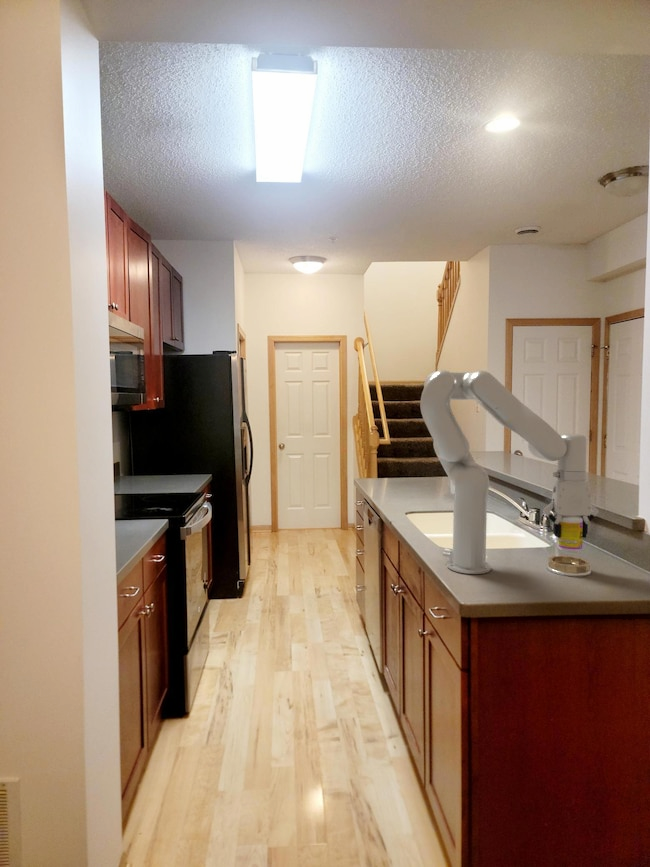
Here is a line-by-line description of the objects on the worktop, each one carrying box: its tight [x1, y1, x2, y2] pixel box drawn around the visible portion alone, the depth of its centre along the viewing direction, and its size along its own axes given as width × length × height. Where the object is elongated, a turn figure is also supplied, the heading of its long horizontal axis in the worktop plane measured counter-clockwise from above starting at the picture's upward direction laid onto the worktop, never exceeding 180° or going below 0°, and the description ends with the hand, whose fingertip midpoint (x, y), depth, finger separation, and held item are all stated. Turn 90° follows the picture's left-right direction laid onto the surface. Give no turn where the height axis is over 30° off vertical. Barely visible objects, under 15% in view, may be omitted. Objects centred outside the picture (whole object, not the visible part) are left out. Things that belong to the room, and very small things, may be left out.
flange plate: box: [546, 555, 592, 578], centre depth 162 cm, size 12×12×3 cm
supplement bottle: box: [557, 516, 583, 554], centre depth 161 cm, size 7×7×13 cm
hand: (570, 536), depth 161 cm, fingers closed on supplement bottle, 6 cm apart
